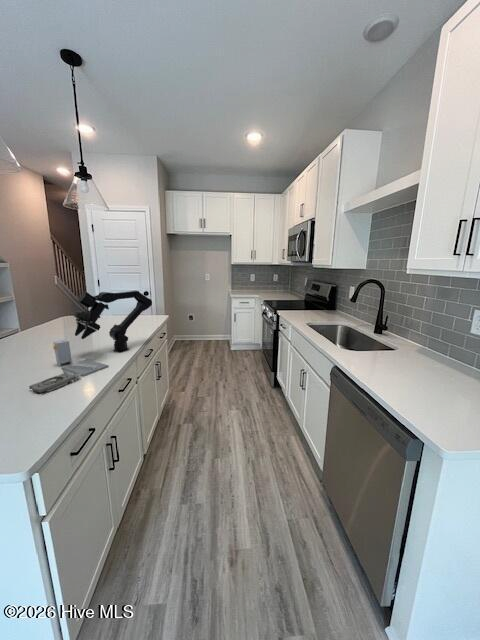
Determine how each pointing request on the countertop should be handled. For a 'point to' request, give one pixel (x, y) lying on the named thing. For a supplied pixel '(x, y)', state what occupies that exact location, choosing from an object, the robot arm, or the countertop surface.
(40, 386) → the graphics card
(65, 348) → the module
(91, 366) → the grey mounting plate
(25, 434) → the countertop surface
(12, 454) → the countertop surface
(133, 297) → the robot arm
